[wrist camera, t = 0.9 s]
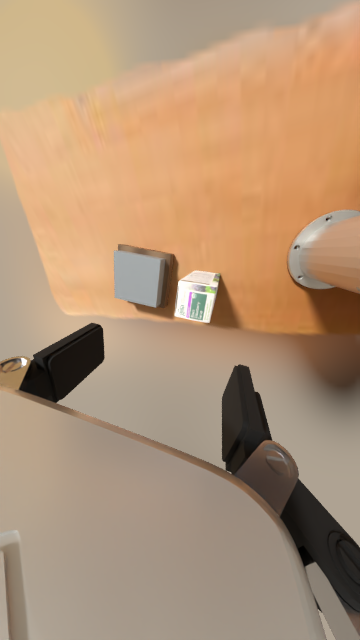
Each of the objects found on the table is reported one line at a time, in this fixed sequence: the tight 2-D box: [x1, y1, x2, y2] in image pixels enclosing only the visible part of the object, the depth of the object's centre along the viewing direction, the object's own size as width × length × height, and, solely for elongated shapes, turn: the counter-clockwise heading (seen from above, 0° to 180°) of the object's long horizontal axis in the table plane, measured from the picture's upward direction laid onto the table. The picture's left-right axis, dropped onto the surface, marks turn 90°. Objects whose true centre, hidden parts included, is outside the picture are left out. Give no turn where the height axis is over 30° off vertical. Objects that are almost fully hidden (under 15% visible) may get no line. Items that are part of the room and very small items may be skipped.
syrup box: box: [175, 270, 220, 323], centre depth 29 cm, size 6×6×14 cm
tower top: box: [114, 251, 165, 308], centre depth 35 cm, size 10×10×3 cm
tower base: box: [118, 244, 174, 308], centre depth 37 cm, size 12×12×3 cm
